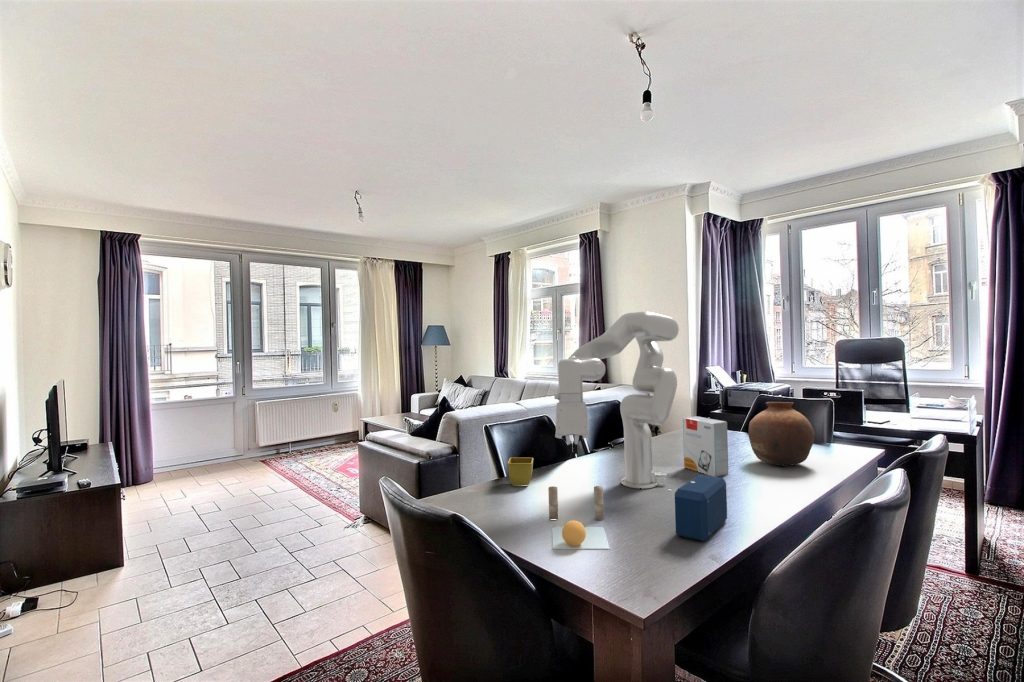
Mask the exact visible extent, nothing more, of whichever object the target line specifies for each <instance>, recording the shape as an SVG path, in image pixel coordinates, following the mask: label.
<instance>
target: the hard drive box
mask: <svg viewBox="0 0 1024 682" xmlns="http://www.w3.org/2000/svg"><path fill="white" fill-rule="evenodd" d="M682 427H683V428H682V429H683V430H682V433H683V434H682V435H683V436H682V437H683V441H682V442H683V466H684V467H685V469H687V470H690V469H691V471H693V472H694V471H695V472H697V471H698V472H697V473H700V472H701V474H703V473H704V474H703V475H706V474H707V469H708V476H712V477H713V476H714V477H716V476H717V477H721V475H722V476H726V474H727V475H729V449H728V448H729V447H728V446H729V445H728V440H729V439H728V422H727V421H726V420H719V419H713V418H708V417H702V416H699V415H698V416H697V415H695V416H686V417H683V418H682ZM706 451H707V460H706ZM684 467H683V468H684Z"/></svg>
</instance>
